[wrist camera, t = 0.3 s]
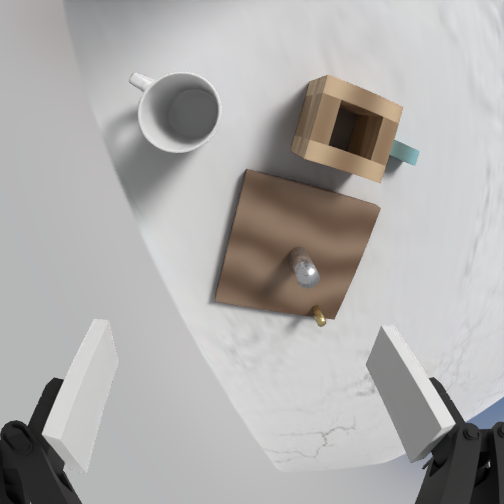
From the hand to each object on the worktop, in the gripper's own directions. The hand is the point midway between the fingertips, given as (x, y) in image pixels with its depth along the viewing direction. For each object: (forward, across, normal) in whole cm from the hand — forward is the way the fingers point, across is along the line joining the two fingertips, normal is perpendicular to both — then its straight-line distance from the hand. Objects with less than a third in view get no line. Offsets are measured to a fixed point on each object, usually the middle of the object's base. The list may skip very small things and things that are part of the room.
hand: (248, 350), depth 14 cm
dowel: (+25, +13, -15) cm, 31 cm away
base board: (+26, +9, -7) cm, 28 cm away
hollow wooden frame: (+26, +15, +10) cm, 31 cm away
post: (+25, +9, -7) cm, 27 cm away
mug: (+26, -7, +11) cm, 29 cm away
